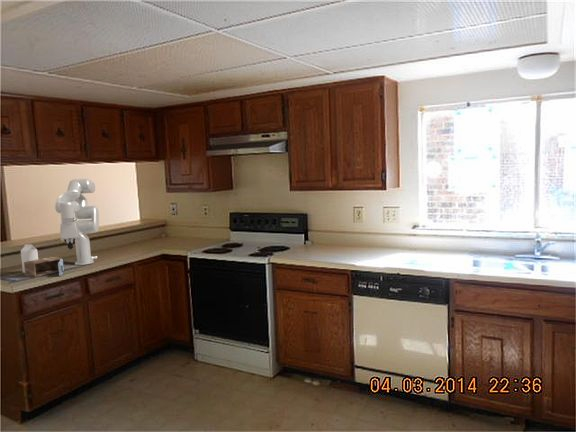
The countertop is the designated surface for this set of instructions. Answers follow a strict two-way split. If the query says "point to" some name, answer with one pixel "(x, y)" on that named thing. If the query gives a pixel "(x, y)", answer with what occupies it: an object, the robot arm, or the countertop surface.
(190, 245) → the countertop surface
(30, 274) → the walnut cabinet
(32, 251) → the milk carton
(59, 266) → the cabinet door
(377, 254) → the countertop surface
